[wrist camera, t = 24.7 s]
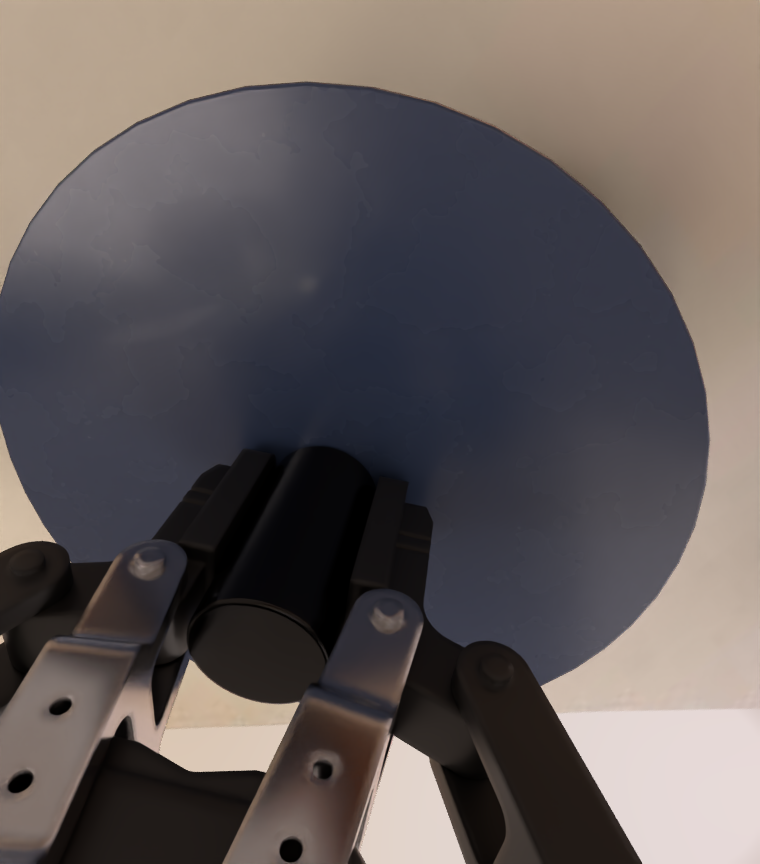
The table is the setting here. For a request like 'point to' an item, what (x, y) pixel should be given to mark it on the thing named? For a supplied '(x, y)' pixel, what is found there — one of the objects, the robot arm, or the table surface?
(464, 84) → the table surface
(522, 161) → the pot lid
